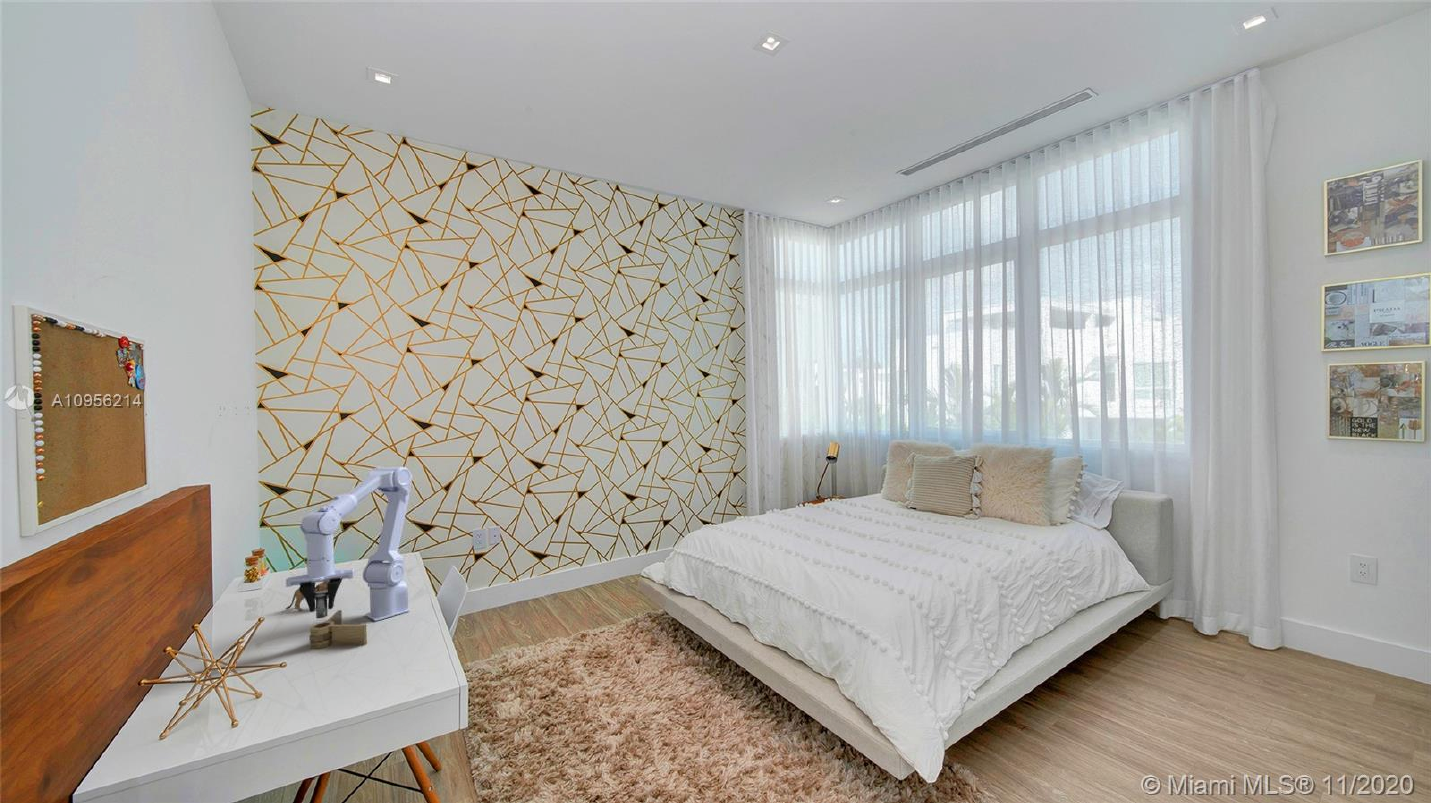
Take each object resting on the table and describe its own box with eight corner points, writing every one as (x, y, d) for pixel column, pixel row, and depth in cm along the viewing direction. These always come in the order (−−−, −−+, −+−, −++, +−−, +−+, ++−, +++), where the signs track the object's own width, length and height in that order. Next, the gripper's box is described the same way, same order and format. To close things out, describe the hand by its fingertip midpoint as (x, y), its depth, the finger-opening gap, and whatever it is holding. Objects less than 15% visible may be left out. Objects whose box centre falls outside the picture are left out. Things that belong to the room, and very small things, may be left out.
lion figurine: (342, 602, 173) (342, 574, 173) (335, 608, 168) (334, 580, 168) (289, 608, 169) (288, 579, 169) (280, 614, 164) (279, 585, 164)
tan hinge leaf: (305, 648, 140) (305, 629, 140) (321, 640, 145) (320, 621, 145) (358, 648, 139) (358, 629, 139) (372, 640, 144) (371, 621, 144)
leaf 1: (329, 645, 140) (329, 628, 140) (307, 648, 139) (306, 631, 139) (350, 624, 154) (350, 608, 154) (330, 626, 153) (329, 611, 153)
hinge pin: (327, 613, 144) (327, 589, 145) (332, 615, 142) (331, 591, 142) (311, 617, 142) (311, 593, 142) (315, 620, 139) (315, 595, 140)
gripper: (281, 565, 136) (282, 619, 135) (350, 557, 141) (351, 609, 141) (290, 558, 142) (291, 610, 142) (355, 551, 148) (356, 600, 148)
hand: (321, 609), depth 142 cm, fingers closed on hinge pin, 3 cm apart
